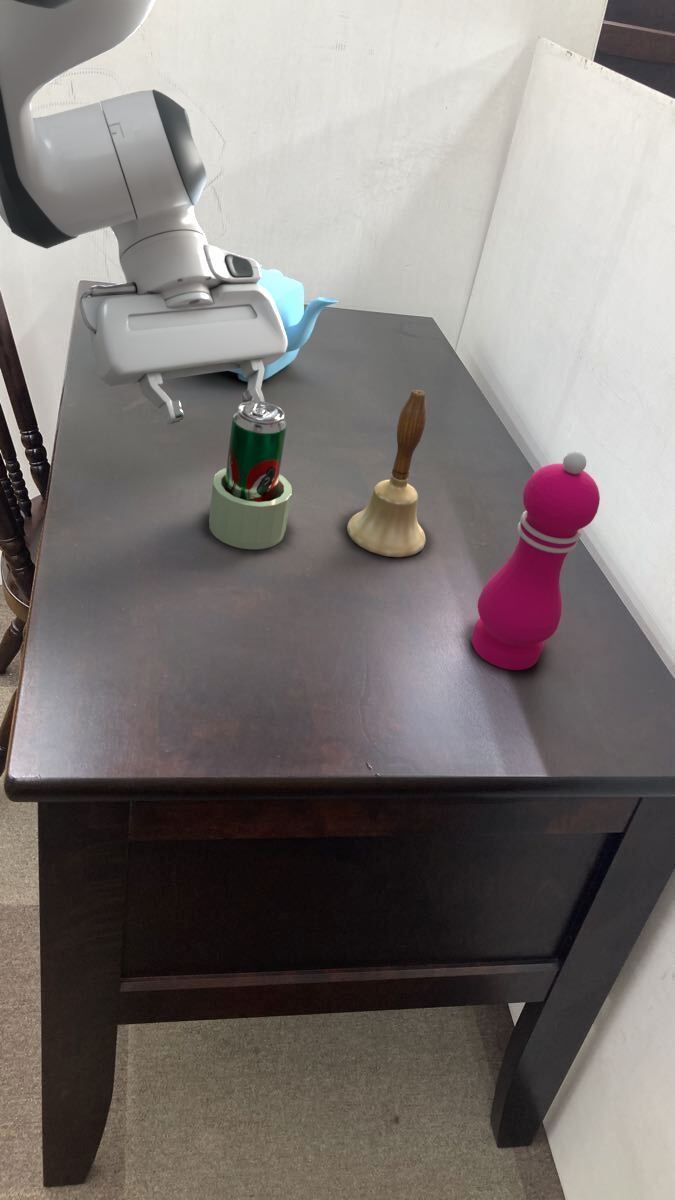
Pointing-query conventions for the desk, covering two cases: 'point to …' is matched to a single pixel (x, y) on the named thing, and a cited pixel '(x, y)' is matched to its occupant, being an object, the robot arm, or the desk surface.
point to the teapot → (289, 316)
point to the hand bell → (395, 495)
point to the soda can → (255, 451)
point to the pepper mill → (535, 566)
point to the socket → (248, 516)
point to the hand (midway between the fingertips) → (216, 414)
